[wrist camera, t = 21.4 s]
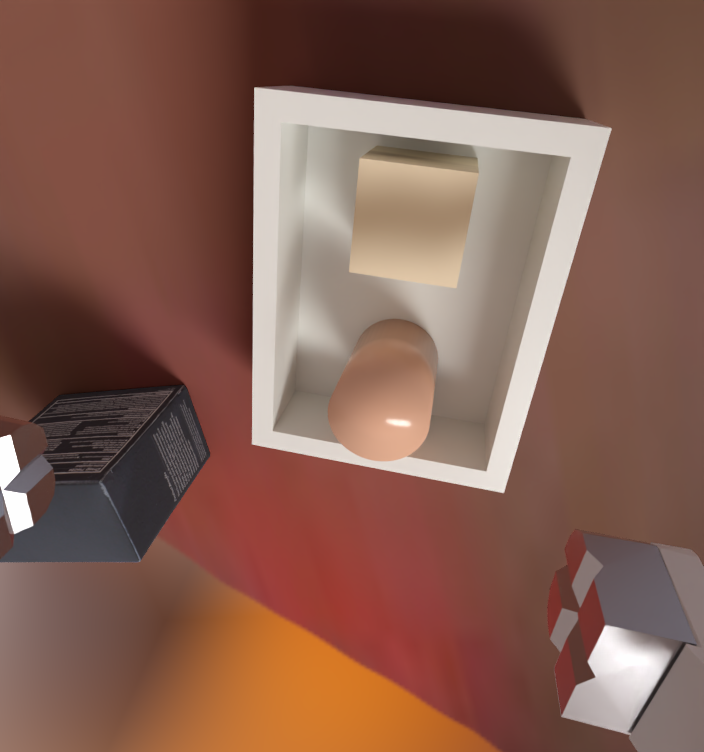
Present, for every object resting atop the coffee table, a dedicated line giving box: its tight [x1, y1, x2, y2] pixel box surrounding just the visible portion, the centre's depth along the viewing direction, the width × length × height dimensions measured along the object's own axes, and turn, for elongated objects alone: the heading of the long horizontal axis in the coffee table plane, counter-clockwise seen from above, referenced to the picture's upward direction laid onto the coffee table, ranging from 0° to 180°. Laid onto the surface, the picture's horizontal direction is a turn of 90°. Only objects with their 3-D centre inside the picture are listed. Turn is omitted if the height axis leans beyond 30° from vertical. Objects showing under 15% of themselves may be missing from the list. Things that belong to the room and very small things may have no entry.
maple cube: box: [349, 146, 479, 288], centre depth 26 cm, size 5×5×5 cm
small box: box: [0, 385, 210, 562], centre depth 36 cm, size 11×6×10 cm, turn 102°
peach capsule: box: [328, 319, 438, 461], centre depth 30 cm, size 5×5×7 cm
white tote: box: [252, 86, 612, 493], centre depth 29 cm, size 14×18×6 cm
